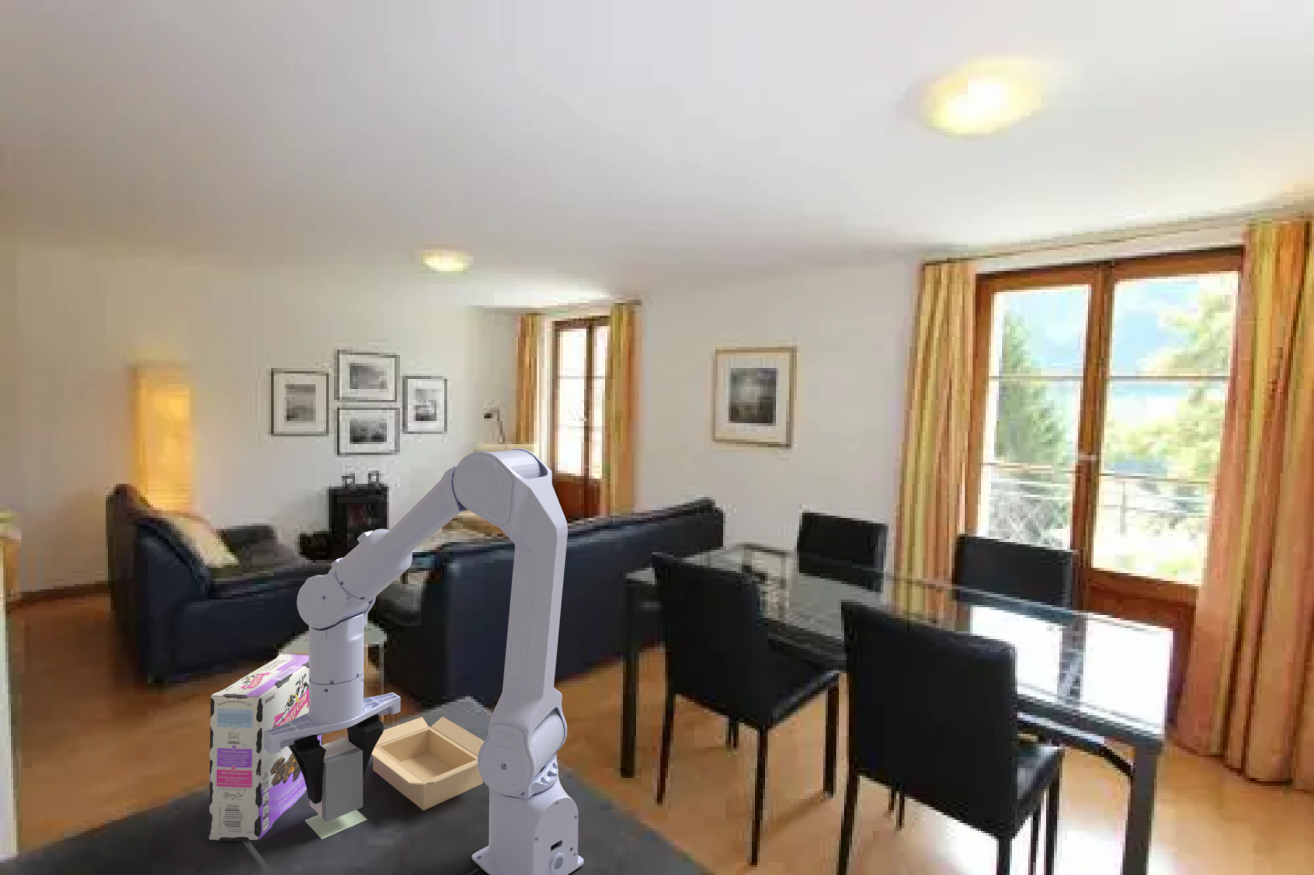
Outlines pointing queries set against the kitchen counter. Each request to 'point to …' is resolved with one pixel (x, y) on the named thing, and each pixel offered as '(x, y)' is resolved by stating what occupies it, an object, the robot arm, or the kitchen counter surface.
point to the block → (340, 780)
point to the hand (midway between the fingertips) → (335, 791)
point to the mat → (334, 823)
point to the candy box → (255, 749)
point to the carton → (428, 760)
